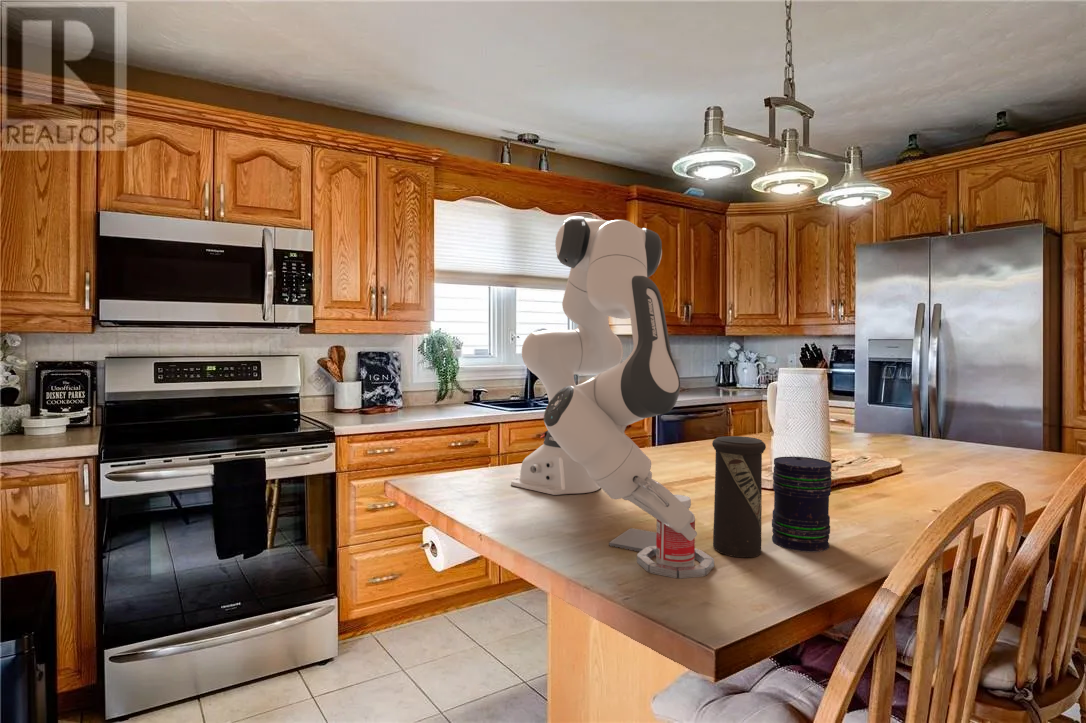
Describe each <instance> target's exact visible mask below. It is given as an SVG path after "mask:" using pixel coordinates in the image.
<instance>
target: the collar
mask: <svg viewBox="0 0 1086 723" xmlns="http://www.w3.org/2000/svg"><path fill="white" fill-rule="evenodd" d="M654 556H656V546H648V547H646V548H644V549H643V550H642V551H641V552H638V553H637V554H636V563H637V564H638V565H639V566H641V568H643V570H645V571H646V572H647V573H649V574H654V575H659V576H664V577H668V578H672V579H687V578H688V579H689V578H698V577H699V578H700V577H705V576H707V575H708V574H710V572H711V571H712V569H713V568H715V558H714V557H712V556H711V555H709V554H708V553H706V551H705V552H704V551H703V550H702V549H699V548H695V559H694V560H696V561H697V562H699V565H693V566H688V567H673V566H668V565H663V564H658V563H657V562H655V561H654V560H652V558H653V557H654Z"/></svg>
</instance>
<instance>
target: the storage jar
mask: <svg viewBox="0 0 1086 723" xmlns="http://www.w3.org/2000/svg"><path fill="white" fill-rule="evenodd" d="M773 465H774V466H773V473H772V481H773V484H772V487H773V492H774V495H773V496H774V500H773V502H774V503H773V510H772V519H771V527H772V528H771V531H772V536H771V541H772V542H773V544H775V545H776V546H778V547H780V548H781V547H782V548H784V549H786V550H791V551H796V552H797V551H798V552H804V553H817V552H818V553H819V552H824V550H825V551H826V550H829V548H830V542H829V540H830V534H831V525H830V524H831V523H830V522H831V519H830V518H831V517H830V515H829V514H830V510H829V507H830V506H829V505H830V496H831V493H832V489H831V488H832V487H831V486H832V471H831V470H832V463H831V462H830V461H827V460H826V459H825V460H824V459H820V458H814V457H808V456H807V457H805V456H804V457H803V456H778V457H775V458H774V459H773Z"/></svg>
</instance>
